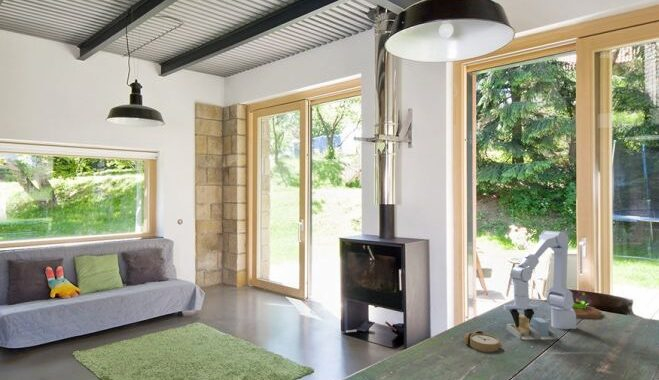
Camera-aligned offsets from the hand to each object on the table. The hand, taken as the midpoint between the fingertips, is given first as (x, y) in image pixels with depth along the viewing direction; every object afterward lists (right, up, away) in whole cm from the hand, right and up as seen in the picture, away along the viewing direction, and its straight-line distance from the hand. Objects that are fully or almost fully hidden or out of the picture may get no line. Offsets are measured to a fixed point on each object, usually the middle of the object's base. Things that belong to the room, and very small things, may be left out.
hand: (521, 326), depth 183 cm
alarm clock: (-21, -5, -11) cm, 24 cm away
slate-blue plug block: (+8, -3, 0) cm, 8 cm away
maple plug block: (0, -2, 0) cm, 2 cm away
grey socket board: (+4, -4, 0) cm, 6 cm away
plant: (+44, -5, +34) cm, 56 cm away
